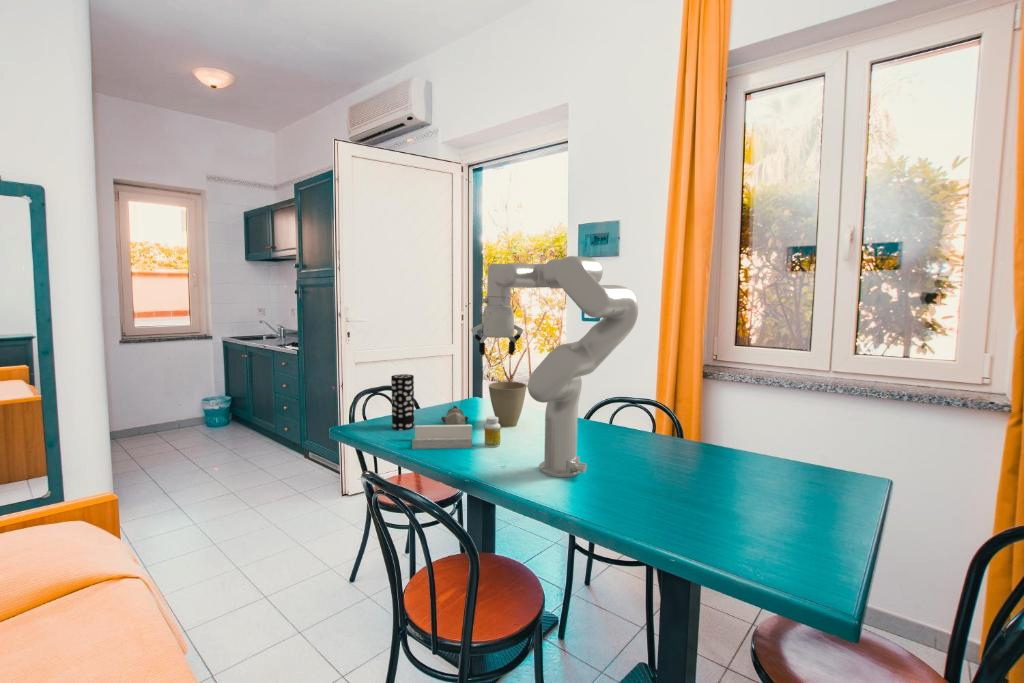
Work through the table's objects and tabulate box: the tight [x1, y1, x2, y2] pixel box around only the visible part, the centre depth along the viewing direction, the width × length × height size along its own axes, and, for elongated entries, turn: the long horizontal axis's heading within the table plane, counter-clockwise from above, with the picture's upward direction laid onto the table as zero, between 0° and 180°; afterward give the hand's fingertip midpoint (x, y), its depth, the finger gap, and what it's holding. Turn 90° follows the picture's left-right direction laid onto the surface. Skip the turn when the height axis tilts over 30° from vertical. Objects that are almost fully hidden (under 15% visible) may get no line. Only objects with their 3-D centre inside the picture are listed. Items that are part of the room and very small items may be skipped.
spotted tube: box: [390, 373, 415, 431], centre depth 192 cm, size 8×8×20 cm
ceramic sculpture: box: [440, 405, 469, 425], centre depth 195 cm, size 11×9×15 cm
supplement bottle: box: [484, 415, 501, 448], centre depth 173 cm, size 5×5×10 cm
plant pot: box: [488, 381, 528, 428], centre depth 198 cm, size 15×15×16 cm
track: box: [411, 424, 473, 450], centre depth 174 cm, size 20×11×5 cm, turn 95°
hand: (496, 354), depth 165 cm, fingers open, 9 cm apart
